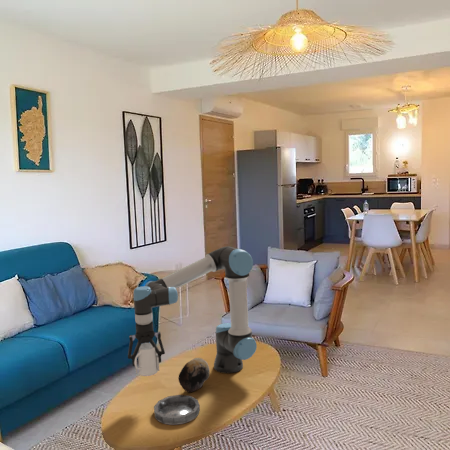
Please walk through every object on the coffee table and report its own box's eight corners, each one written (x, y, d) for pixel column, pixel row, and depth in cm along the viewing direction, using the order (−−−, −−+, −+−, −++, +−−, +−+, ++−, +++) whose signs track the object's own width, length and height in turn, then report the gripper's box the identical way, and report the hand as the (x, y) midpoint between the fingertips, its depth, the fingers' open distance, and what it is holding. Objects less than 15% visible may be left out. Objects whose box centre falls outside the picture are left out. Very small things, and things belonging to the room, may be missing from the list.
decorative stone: (202, 380, 227) (200, 351, 226) (214, 385, 221) (213, 355, 220) (174, 394, 215) (173, 363, 213) (187, 400, 209) (186, 368, 207)
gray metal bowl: (195, 398, 210) (194, 392, 209) (203, 420, 191) (202, 413, 191) (153, 405, 205) (152, 398, 205) (157, 428, 187) (156, 421, 186)
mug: (140, 380, 198) (139, 354, 196) (128, 375, 204) (126, 349, 202) (161, 371, 207) (160, 345, 205) (149, 366, 212) (148, 341, 211)
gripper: (167, 316, 208) (170, 364, 211) (119, 322, 204) (122, 370, 207) (169, 321, 201) (172, 371, 204) (119, 327, 197) (122, 378, 199)
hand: (147, 370), depth 205 cm, fingers closed on mug, 9 cm apart
